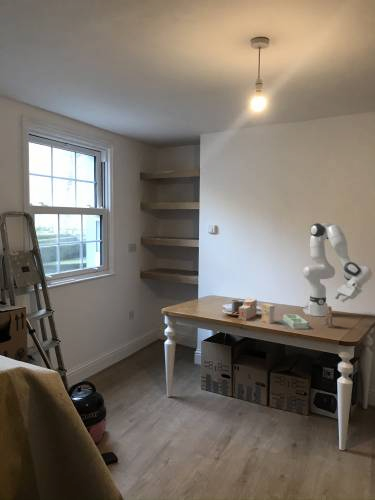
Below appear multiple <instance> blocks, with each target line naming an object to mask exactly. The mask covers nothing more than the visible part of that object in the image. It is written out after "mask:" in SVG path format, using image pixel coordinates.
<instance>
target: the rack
mask: <svg viewBox="0 0 375 500" xmlns="http://www.w3.org/2000/svg"><path fill="white" fill-rule="evenodd" d="M282 320H284V321H285V322H286V323H287V324H288V325H290V326H291V327H292V328H293V330H303V329H304V330H305V329H306V330H309V329H310V328H309V324H310V322H308V321H307V320H305V319H304V318H303V317H301V316H300V315H298V314H297V313H294V314H293V313H291V314H288V313H287V314H282Z"/></svg>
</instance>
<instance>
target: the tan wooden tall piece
mask: <svg viewBox="0 0 375 500" xmlns="http://www.w3.org/2000/svg"><path fill="white" fill-rule="evenodd" d="M333 317H334V316H333V313H332V306H327V312H326V316H325V322H323V323H322V324H323V326H324V327H326V328H329V329H335V325H334V324H333Z"/></svg>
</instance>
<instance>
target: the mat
mask: <svg viewBox="0 0 375 500" xmlns="http://www.w3.org/2000/svg"><path fill="white" fill-rule="evenodd" d="M276 321H277V322H278V323H279V324H281V326H283V327H284V328H285V329H287V330H288V329H289V330H291V329H293V328H292V327H291V326H290V325H288V324H287V323H286V322H285V321H284V320H283V319H277V320H276ZM309 329H315V327H314V326H312V325H311V324H310V323H309ZM293 330H294V329H293Z"/></svg>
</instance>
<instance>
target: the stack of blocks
mask: <svg viewBox="0 0 375 500" xmlns="http://www.w3.org/2000/svg"><path fill="white" fill-rule="evenodd" d="M257 307H258V300H257V299H255V298H248V299H245V300H244V301H243V305H241V306H239V307H238V320H239V319H242V320H241V321H245V320H246V321H248V320H249V318H250V319H252V318H253V317H256V316H257V312H258V311H257ZM251 317H252V318H251ZM247 319H248V320H247Z"/></svg>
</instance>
